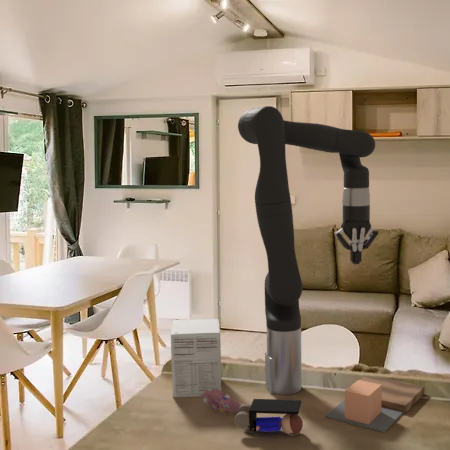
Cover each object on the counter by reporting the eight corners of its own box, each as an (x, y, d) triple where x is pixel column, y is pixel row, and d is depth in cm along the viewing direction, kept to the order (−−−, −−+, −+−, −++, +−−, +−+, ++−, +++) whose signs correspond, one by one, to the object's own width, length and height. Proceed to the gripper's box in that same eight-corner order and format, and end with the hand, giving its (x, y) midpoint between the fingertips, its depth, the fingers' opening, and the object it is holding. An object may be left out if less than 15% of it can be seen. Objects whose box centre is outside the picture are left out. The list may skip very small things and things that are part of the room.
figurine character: (236, 442, 147) (302, 440, 144) (232, 411, 146) (298, 408, 143) (242, 429, 154) (305, 427, 150) (237, 398, 153) (301, 396, 150)
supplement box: (222, 396, 170) (220, 332, 167) (172, 398, 169) (169, 334, 167) (220, 377, 183) (219, 318, 180) (174, 379, 182) (172, 319, 180)
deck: (366, 381, 177) (366, 374, 177) (424, 393, 168) (424, 386, 168) (345, 399, 166) (345, 391, 166) (405, 413, 157) (405, 405, 157)
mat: (346, 399, 166) (346, 398, 166) (403, 413, 157) (403, 411, 157) (325, 417, 156) (325, 415, 156) (384, 432, 147) (384, 430, 147)
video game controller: (205, 412, 164) (196, 392, 161) (215, 399, 167) (206, 380, 163) (234, 423, 157) (225, 403, 154) (245, 409, 160) (236, 389, 157)
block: (358, 379, 160) (344, 390, 153) (381, 384, 156) (368, 396, 150) (358, 406, 161) (344, 418, 154) (381, 411, 157) (368, 424, 151)
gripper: (338, 205, 176) (338, 267, 178) (383, 203, 178) (383, 265, 181) (329, 203, 183) (329, 262, 186) (373, 201, 185) (372, 260, 188)
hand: (355, 263), depth 183 cm, fingers closed
